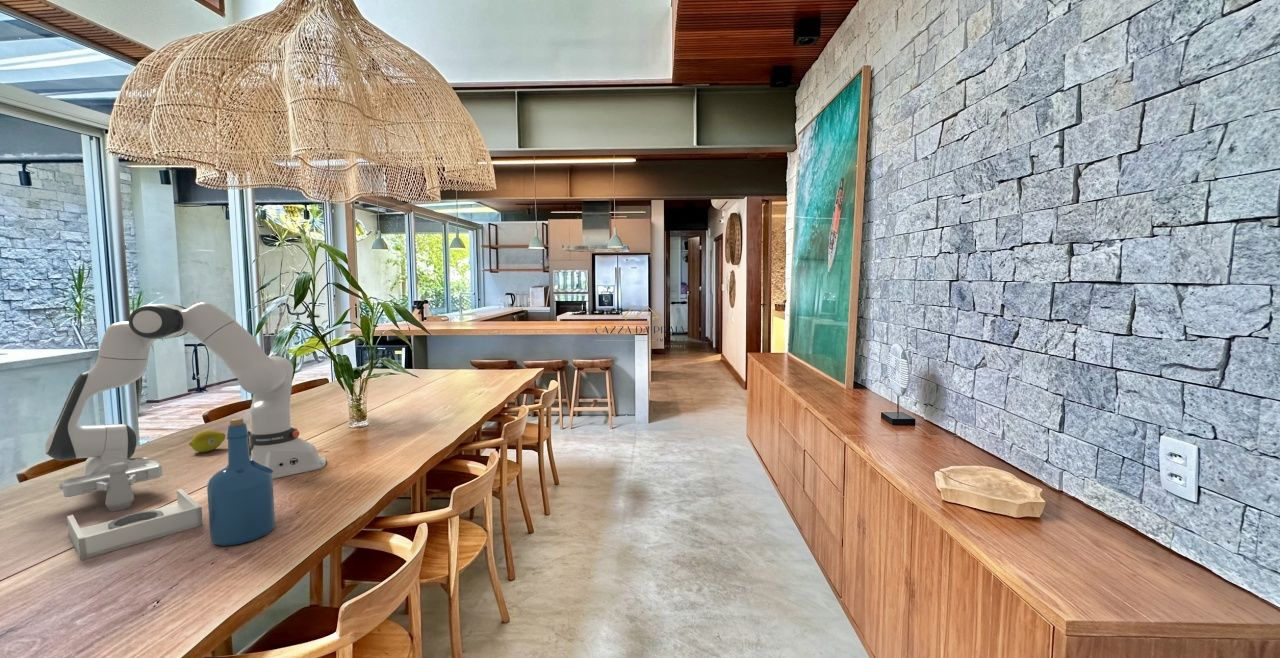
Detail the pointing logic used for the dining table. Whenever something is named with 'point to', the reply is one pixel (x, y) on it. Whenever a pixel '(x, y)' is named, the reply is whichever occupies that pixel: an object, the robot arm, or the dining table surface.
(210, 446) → the lemon
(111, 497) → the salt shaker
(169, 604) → the dining table surface
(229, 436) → the wine bottle
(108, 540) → the box
